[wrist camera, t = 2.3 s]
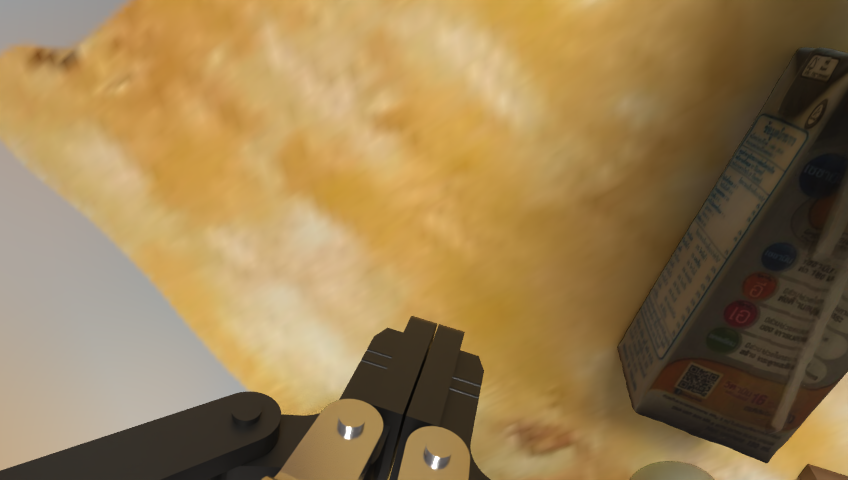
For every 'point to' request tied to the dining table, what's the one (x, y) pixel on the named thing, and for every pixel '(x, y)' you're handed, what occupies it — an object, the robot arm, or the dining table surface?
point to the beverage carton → (757, 278)
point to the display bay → (820, 474)
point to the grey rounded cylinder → (671, 472)
